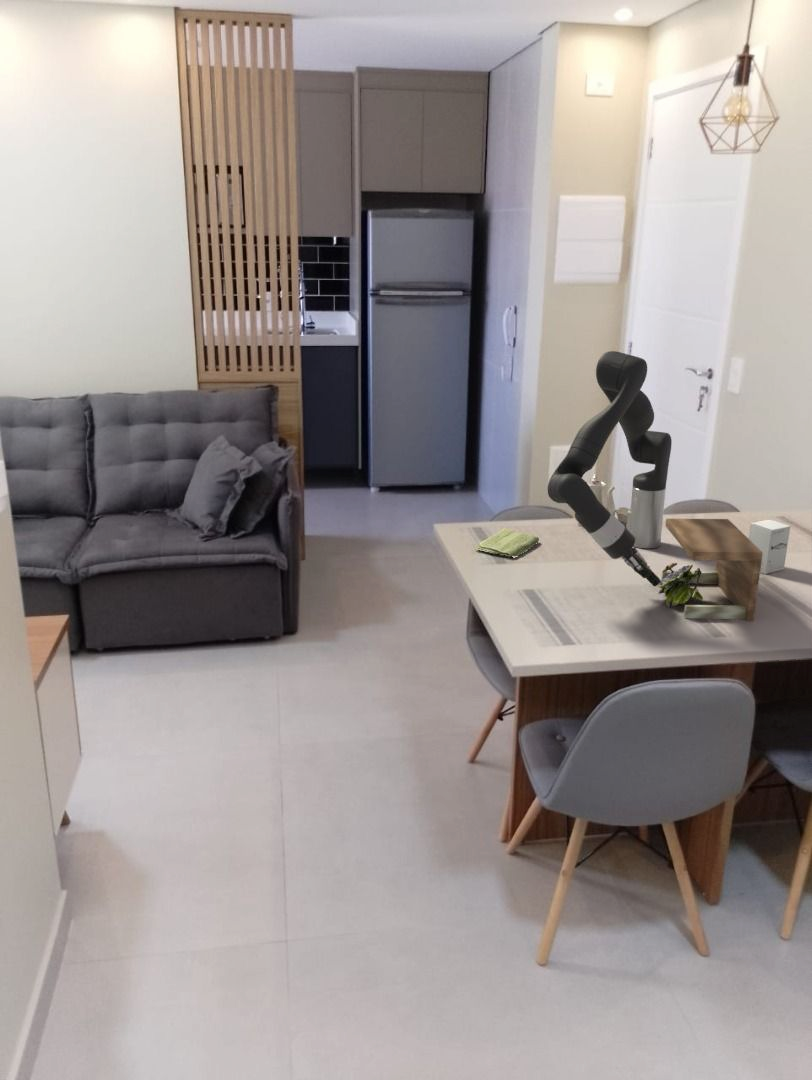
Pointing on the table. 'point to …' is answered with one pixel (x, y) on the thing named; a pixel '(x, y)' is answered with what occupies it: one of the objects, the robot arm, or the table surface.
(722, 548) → the shelf
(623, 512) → the chinaware
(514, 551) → the washcloth
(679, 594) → the passion flower
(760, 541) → the supplement box
